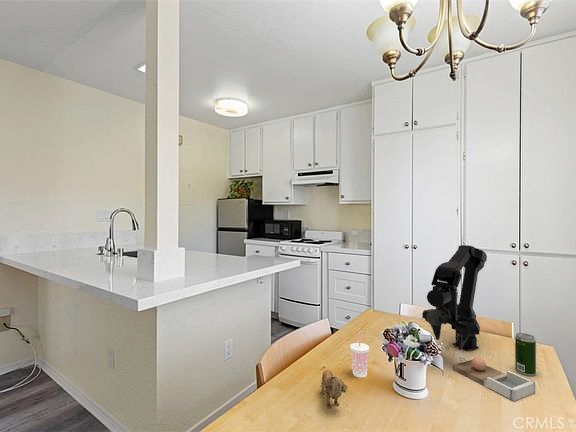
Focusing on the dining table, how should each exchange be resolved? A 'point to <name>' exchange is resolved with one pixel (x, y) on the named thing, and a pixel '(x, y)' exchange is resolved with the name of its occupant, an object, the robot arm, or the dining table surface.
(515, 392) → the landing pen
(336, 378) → the lion figurine
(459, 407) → the dining table surface
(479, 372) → the runway
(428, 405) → the dining table surface
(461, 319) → the robot arm
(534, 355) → the beer can
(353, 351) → the beverage cup
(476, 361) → the ball
